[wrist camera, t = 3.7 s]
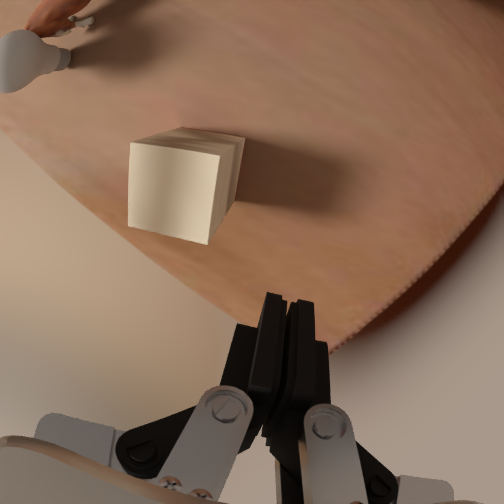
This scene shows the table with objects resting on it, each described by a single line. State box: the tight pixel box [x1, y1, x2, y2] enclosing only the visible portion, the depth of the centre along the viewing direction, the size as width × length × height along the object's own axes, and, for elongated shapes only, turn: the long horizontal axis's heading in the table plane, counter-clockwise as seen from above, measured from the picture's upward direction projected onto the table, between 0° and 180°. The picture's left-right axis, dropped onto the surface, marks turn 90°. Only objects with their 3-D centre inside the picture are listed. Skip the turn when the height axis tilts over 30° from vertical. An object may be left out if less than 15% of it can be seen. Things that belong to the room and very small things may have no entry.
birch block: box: [128, 127, 246, 245], centre depth 22 cm, size 6×6×9 cm
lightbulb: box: [0, 30, 71, 93], centre depth 17 cm, size 6×6×11 cm
